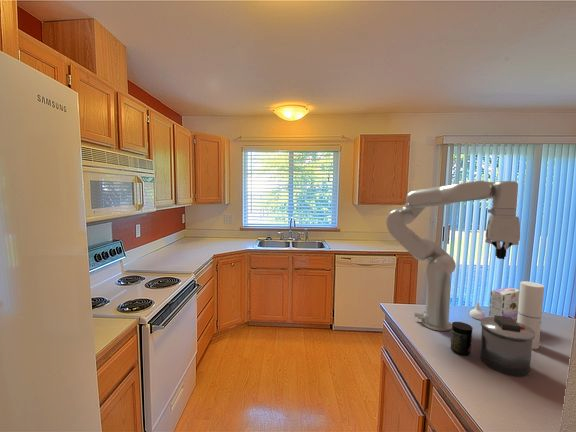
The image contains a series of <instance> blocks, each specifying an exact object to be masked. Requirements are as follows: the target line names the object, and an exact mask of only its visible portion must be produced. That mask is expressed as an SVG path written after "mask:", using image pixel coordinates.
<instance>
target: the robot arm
mask: <svg viewBox="0 0 576 432" xmlns="http://www.w3.org/2000/svg"><path fill="white" fill-rule="evenodd" d="M518 192H519V183H518V182H517V181H514V180H505V181H504V180H502V181H500V180H499V181H496V182H495V181H485V180H475V181H469V182H463V183H456V184H450V185H447V184H446V185H440V186H433V187H428V188H422V189H421V188H420V189H415V190H411V191H409V192H408V193H407V195H406V198H405V201H406V203H405V204H404V205H403V207H401V208H395V209H393V210H391V211H390V212H389V213H388V215H387V216H386V227H387V231H388V232H389V234H390V235H391V236H392V237H393V238H394V239H395V240H396V241H397V242H398V243H399V244H400V245H401V246H402V247H403V248H404V249H405V250H406V251H407V252H408V253H409V254H410V255H411V256H412V257H413V258H414V259H416V260H418V261H427V265H426V268H425V269H426V271H425V272H426V273H425V274H426V295H425V296H426V297H425V298H426V299H425V311H423V312H421V313H419V312H414V318H417V319H418V320H421V324H422V325H423V326H424V327H426V328H428V329H430V330H433V331H439V332H449V331H452V322H450V304H451V302H450V301H451V275H452V274H453V272H455V270H456V266H457V265H456V261H455V259H454V258H453V257H452V256H451V255H450V254H449V253H448V252H447V251H445V249H443V248H442V247H441V246H440V245H439V244H437V242H435V241H434V240H432V239H430V238H421V237H420V236H419V235H418V234H417V233H415V231H413V230H412V229H411V228H409V227H408V226H407V225H409V224H411V223H412V222H414V220H415V219H416V218H418V216H419V215H420V214H421V213H422V212H423V211H424V210H425V208H429V207H438V206H445V205H449V204H455V203H461V202H472V201H480V200H490V199H491V200H492V206H491V208H490V209H488V210H487V213H489V214H491V215H489V216H488V219H487V225H486V229H485V230H486V232H485V243H487V244H489V245H493V246H494V248H495V256H496V258H497V259H499V260H505V258H506V256H507V250H508V249H509V248H510V247H512V246H517V245H519V242H520V241H521V224H520V216H517V209H518V207H517V206H518V195H519V193H518ZM501 242H502V243H501Z"/></svg>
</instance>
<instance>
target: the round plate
mask: <svg viewBox="0 0 576 432" xmlns="http://www.w3.org/2000/svg"><path fill="white" fill-rule="evenodd" d="M480 326H481V328H482V327H483V328H485V329H486V330H488V331H490V332H492V333H494V334H497V335H500V336H503V337H507V338H512V339H518V340H531V339H534V337H535V332H534V330H532V329H531V328H530V327H528V326H526V325H524V324H521V323H518V322H515V321H514V320H513V319H512V318H511V317H505V316H497V315H494V317H489V316H485V318H482V319H481V320H480Z"/></svg>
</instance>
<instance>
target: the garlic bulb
mask: <svg viewBox="0 0 576 432" xmlns="http://www.w3.org/2000/svg"><path fill="white" fill-rule="evenodd" d="M480 306H481V305H480V302H479V301H476V304H475V308H473V309H471V310H470V311H469V316H470V317H471V318H472V319H475V320H479V321H481V319H482V318H485V317H486V314H485V312H484V311H483V310H482V309H481V307H480Z"/></svg>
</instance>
